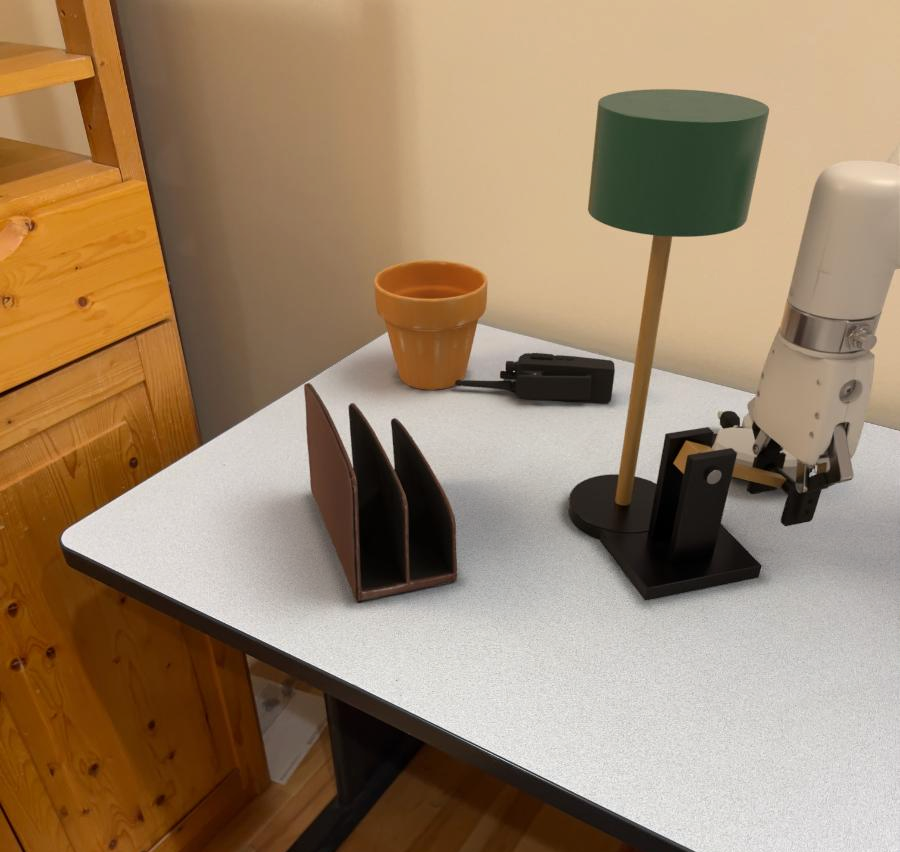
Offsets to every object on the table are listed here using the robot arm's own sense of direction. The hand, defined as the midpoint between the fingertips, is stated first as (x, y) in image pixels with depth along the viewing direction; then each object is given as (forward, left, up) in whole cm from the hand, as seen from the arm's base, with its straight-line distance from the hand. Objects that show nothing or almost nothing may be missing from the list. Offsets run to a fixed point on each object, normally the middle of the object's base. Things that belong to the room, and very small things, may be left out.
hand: (778, 504), depth 86 cm
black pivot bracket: (+10, +3, -4) cm, 11 cm away
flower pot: (+33, -39, -5) cm, 51 cm away
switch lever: (+6, +2, +4) cm, 7 cm away
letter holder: (+39, -2, -5) cm, 39 cm away
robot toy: (-3, -15, -5) cm, 16 cm away
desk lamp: (+14, -5, -4) cm, 16 cm away
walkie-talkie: (+20, -30, -2) cm, 36 cm away
